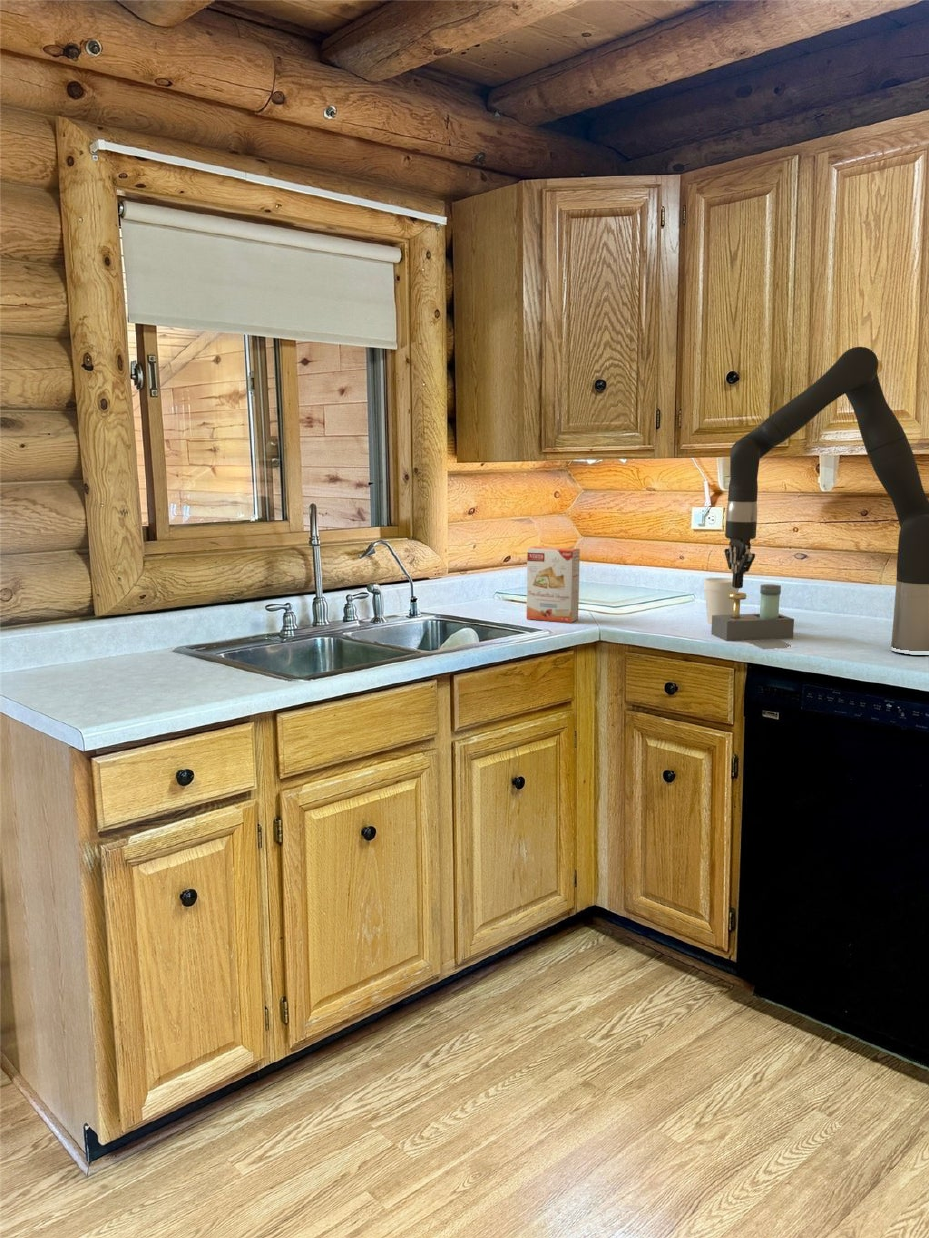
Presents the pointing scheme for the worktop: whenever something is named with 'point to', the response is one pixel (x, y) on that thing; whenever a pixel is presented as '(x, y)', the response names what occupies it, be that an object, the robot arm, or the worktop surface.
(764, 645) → the slate mat
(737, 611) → the brass plunger
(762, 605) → the cylinder
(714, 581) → the foam cup
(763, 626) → the block
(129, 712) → the worktop surface
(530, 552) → the cracker box
